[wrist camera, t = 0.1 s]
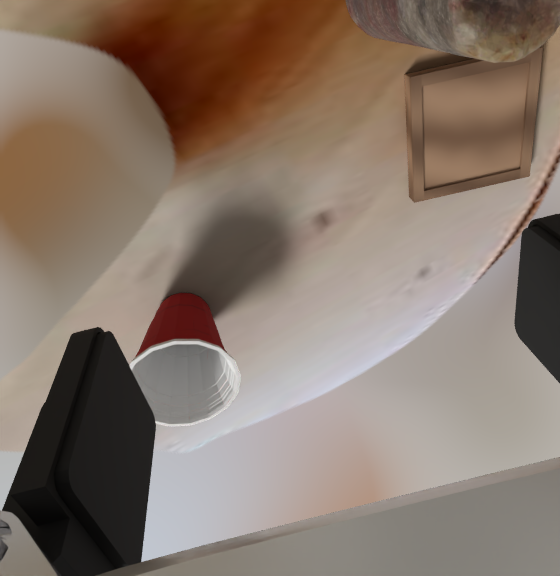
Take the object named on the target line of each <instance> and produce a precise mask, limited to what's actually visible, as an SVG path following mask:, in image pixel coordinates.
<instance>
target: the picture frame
mask: <svg viewBox="0 0 560 576" xmlns="http://www.w3.org/2000/svg"><path fill="white" fill-rule="evenodd" d="M542 53H543V47H539V48H538V49H537V50H535V51H533V52H532V53H530V54H528V55H527V56H526V57H524V58H522V59H519V60H517V61H514V62H497V63H493V62H488V61H484V60H479V59H471V60H466V61H462V62H458V63H453V64H449V65H444V66H440V67H435V68H431V69H427V70H422V71H418V72H413V73H409V74H404V75H405V101H406V126H407V151H408V177H409V197H410V198H411V199H412V200H413V201H414V202H419V201H424V200H428V199H432V198H437V197H441V196H445V195H450V194H454V193H459V192H463V191H467V190H472V189H476V188H480V187H485V186H489V185H494V184H498V183H502V182H507V181H511V180H515V179H520V178H524V177H529V176H530V167H531V158H532V148H533V139H534V129H535V120H536V110H537V100H538V91H539V81H540V72H541V62H542Z"/></svg>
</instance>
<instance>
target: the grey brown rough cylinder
mask: <svg viewBox="0 0 560 576" xmlns="http://www.w3.org/2000/svg"><path fill="white" fill-rule="evenodd" d="M346 4H347V8H348V12H349V14H350V16H351V18H352V19H353V20H354V22H355V23H356V24H357V25H358V27H359V28H361V29H362V30H363V31H364V32H365V33H367V34H368V35H370V36H372V37H374V38H379V39H383V40H388V41H393V42H399V43H404V44H410V45H414V46H419V47H424V48H429V49H433V50H438V51H442V52H447V53H451V54H455V55H459V56H464V57H469V58H475V59H479V60H484V61H488V62H493V63H497V62H514V61H517V60H519V59H522V58H524V57H526V56H527V55H528V54H530V53H532V52H533V51H535V50H537V49H538V48H539V47H541V46H542V45H543V44H544V43H545V42H546V41H547V40H548V39H549V38H550V37H551V36H552V35H554V33H555V32H556V30H557V28H558V27H559V25H560V0H346Z"/></svg>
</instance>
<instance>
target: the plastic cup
mask: <svg viewBox="0 0 560 576" xmlns="http://www.w3.org/2000/svg"><path fill="white" fill-rule="evenodd" d="M129 366H130V368H131V370H132V372H133V374H134V376H135V378H136V380H137V382H138V384H139V386H140V388H141V390H142V392H143V394H144V396H145V398H146V400H147V402H148V404H149V406H150V408H151V410H152V412H153V414H154V417H155V423H156V424H160V425H164V426H190V425H193V424H197V423H200V422H203V421H206V420H209V419H212V418H213V417H215V416H216V415H218V414H219V413H221V412H222V411H224V410H225V409H226V408H228V407H229V405H230V404H231V402H232V401H233V400H234V398H235V397H236V396H237V394H238V392H239V387H240V381H241V375H240V372H239V370H238V367H237V364H236V362H235V360H234V359H233V358H232V357H231V356H230V355H229V354H228V353H227V352H226V351H225V349H224V347H223V345H222V342H221V339H220V336H219V333H218V330H217V327H216V325H215V322H214V319H213V317H212V313H211V311H210V308H209V306H208V305H207V303H206V302H205V301H204V300H203V299H202V298H201V297H199V296H196V295H194V294H192V293H178V294H174V295H171V296H170V297H168V298H167V299H166V300H164V301H163V303H161V305H160V307H159V309H158V310H157V312H156V315H155V317H154V319H153V321H152V322H151V324H150V326H149V328H148V331H147V333H146V335H145V338H144V340H143V342H142V345H141V347H140V349H139V352H138V353H137V355H136V357H135V358H134V359H133V360H132V362H131V364H130V365H129Z"/></svg>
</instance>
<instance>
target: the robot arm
mask: <svg viewBox="0 0 560 576" xmlns="http://www.w3.org/2000/svg"><path fill="white" fill-rule="evenodd" d="M520 251H521V252H520V262H519V276H518V287H517V299H516V312H515V329H516V332H517V334H518V336H519V338H520V339H521V340H522V341H523V342H524V344H525V345H526V346H527V347H528V348H529V349H530V350H531V352H532V353H533V354H534V355H535V356H536V357H537V358H538V359H539V360H540V362H541V363H542V364H543V365H544V366H545V367H546V368H547V370H548V371H549V372H550V373H551V374H552V375H553V376H554V377H555V378H556V380H557V381H558V382H559V383H560V214H555V215H551V216H547V217H543V218H539V219H535V220H532V221H531V222H530V224H529V226H528V228H526V229H524V230H523V232H522V238H521V250H520ZM155 431H156V423H155V417H154V414H153V412H152V410H151V408H150V406H149V404H148V402H147V400H146V398H145V396H144V394H143V392H142V390H141V388H140V386H139V384H138V382H137V380H136V378H135V376H134V374H133V372H132V370H131V368H130V366H129V364H128V362H127V360H126V358H125V357H124V355H123V353H122V351H121V349H120V347H119V345H118V343H117V341H116V339H115V337H114V335H113V334H112V333H111V332H110V331H107V332H104V331H103V330H102V329H101V328H99V327H97V328H92V329H88V330H84V331H80V332H76V333H73V334H72V335H71V337H70V339H69V342H68V345H67V347H66V350H65V353H64V355H63V358H62V360H61V363H60V366H59V368H58V371H57V374H56V376H55V379H54V381H53V384H52V387H51V389H50V392H49V395H48V397H47V400H46V402H45V403H44V405H43V407H42V408H41V411H40V413H39V416H38V419H37V421H36V424H35V426H34V429H33V431H32V434H31V437H30V439H29V442H28V444H27V447H26V450H25V452H24V455H23V457H22V461H21V463H20V465H19V468H18V471H17V473H16V476H15V478H14V481H13V483H12V486H11V489H10V491H9V494H8V496H7V499H6V502H5V504H4V507H3V509H2V511H0V576H560V457H558V458H554V459H549V460H545V461H541V462H537V463H533V464H529V465H525V466H521V467H517V468H512V469H508V470H504V471H500V472H496V473H491V474H487V475H483V476H479V477H475V478H471V479H468V480H463V481H459V482H455V483H451V484H447V485H443V486H439V487H435V488H430V489H426V490H422V491H418V492H414V493H411V494H406V495H402V496H399V497H394V498H390V499H386V500H382V501H378V502H374V503H370V504H366V505H362V506H358V507H354V508H350V509H346V510H342V511H338V512H334V513H330V514H326V515H322V516H318V517H314V518H310V519H306V520H302V521H298V522H294V523H290V524H286V525H282V526H278V527H274V528H270V529H266V530H262V531H258V532H255V533H250V534H247V535H243V536H239V537H235V538H231V539H227V540H223V541H219V542H215V543H211V544H208V545H203V546H199V547H196V548H192V549H189V550H185V551H181V552H177V553H174V554H170V555H167V556H163V557H159V558H155V559H152V560H148V561H144V562H141V557H142V548H143V540H144V531H145V521H146V512H147V503H148V494H149V485H150V476H151V467H152V458H153V449H154V440H155Z"/></svg>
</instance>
